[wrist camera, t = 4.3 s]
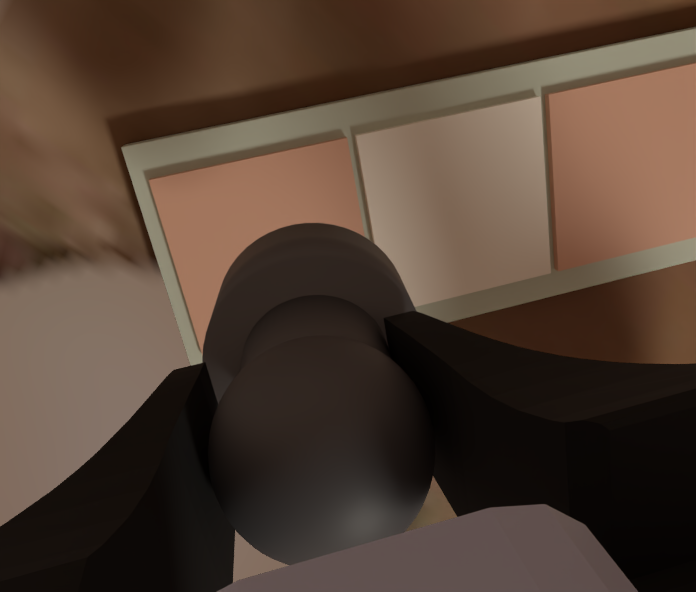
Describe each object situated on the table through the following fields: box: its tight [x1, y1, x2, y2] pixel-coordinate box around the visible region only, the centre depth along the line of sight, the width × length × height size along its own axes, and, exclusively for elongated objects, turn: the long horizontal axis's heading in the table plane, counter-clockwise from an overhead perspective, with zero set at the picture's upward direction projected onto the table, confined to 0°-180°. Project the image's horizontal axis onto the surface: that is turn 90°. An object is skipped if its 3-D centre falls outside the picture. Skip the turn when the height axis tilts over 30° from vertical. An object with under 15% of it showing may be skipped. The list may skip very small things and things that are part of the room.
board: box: [121, 27, 696, 366], centre depth 22 cm, size 9×28×1 cm, turn 101°
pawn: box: [202, 223, 435, 565], centre depth 11 cm, size 5×5×7 cm
